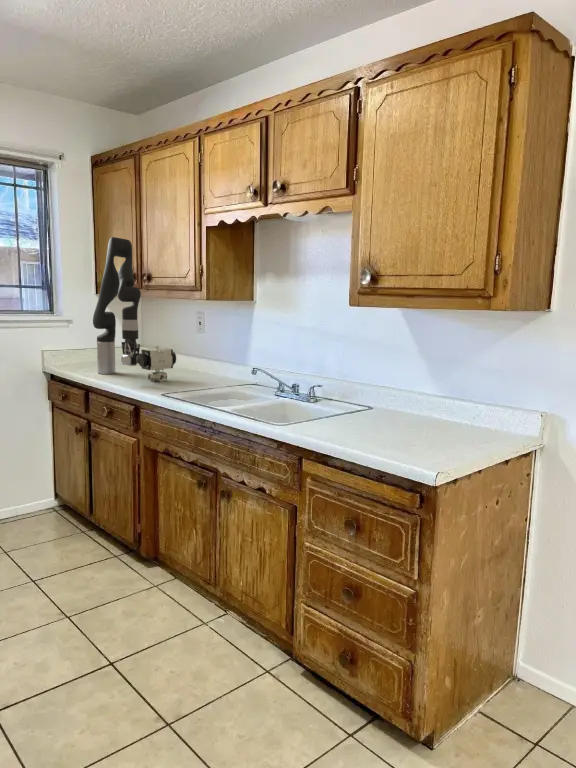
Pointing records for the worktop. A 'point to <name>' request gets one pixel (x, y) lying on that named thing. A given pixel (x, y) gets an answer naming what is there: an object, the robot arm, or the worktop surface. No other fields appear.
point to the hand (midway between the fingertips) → (131, 363)
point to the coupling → (129, 359)
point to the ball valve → (157, 362)
